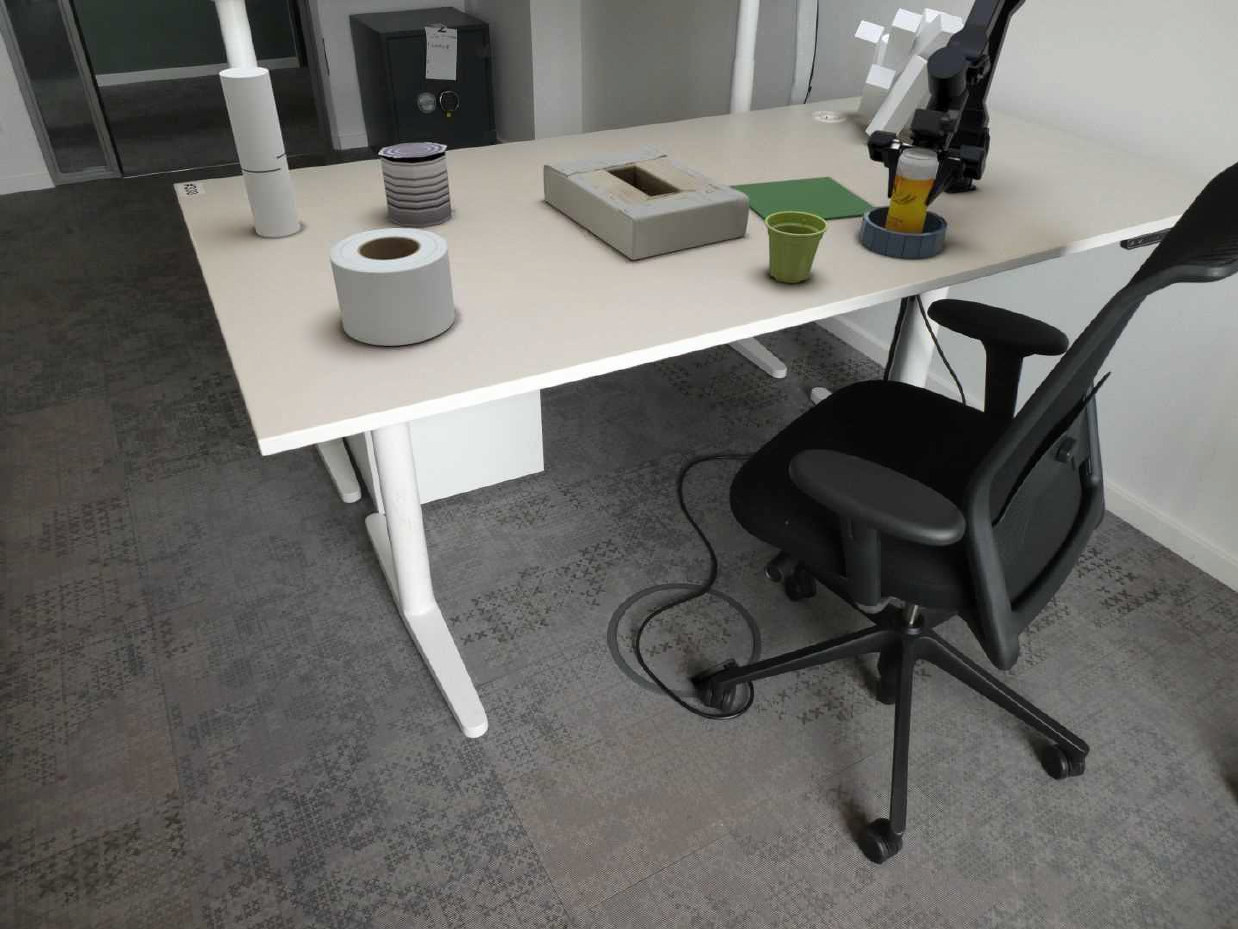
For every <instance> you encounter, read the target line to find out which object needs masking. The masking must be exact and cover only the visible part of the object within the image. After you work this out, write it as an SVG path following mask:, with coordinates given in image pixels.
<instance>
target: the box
mask: <svg viewBox="0 0 1238 929" xmlns="http://www.w3.org/2000/svg"><path fill="white" fill-rule="evenodd" d="M542 174H543V193H544V194H543V195H544V200H545V201H546V202H547V203H549V205H551V206H552V207H554V208H556V210H559V211H560V212H561V213H563V214H564V215H566V216H567V217H568V218H570V219H572V220H573V221H574V222H576V223H578V224H579V225H581V227H583V228H584V229H586V230H588V231H590V232H591V233H592V234H594V235H595V236H597V237H598V239H599V238H600V239H601V240H602V241H603V242H605V243H606V244H608V245H609V246H611V247H613V249H615V250H617V251H618V252H620V253H621V254H623V255H624V256H625V257H627V258H629V259H630V260H632V261H634V260H640V259H644V258H649V257H653V256H658V255H662V254H667V253H672V252H676V251H677V252H678V251H680V250H685V249H690V248H694V247H698V246H703V245H708V244H713V243H717V242H722V241H727V240H732V239H735V238H740V237H743V236H745V235H746V233H747V229H748V222H749V215H750V207H749V205H750V199H749V197H748V196H747V195H746V194H744V193H742V192H740V191H738V190H735V189H733V188H731V187H729V186H730V185H728V184H726V183H720V182H718V181H717V180H715V179H712V178H710V177H709V176H707V175H705V174H702V173H701V172H698V171H697V170H695V169H693V168H691V167H689V166H687V165H685V164H683V163H681V162H679V161H677V160H676V159H674V158H671V157H669V156H668V155H667V154H666V153H664V152H661V151H660V150H659V149H658V148H656V147H653V146H651V145H650V146H649V145H648V146H644V147H639V148H634V149H629V150H623V151H622V150H621V151H617V152H612V153H607V154H606V153H605V154H599V155H594V156H587V157H581V158H576V159H570V160H563V161H551V162H546V163H545V164H543V171H542Z"/></svg>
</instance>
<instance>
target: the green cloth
mask: <svg viewBox="0 0 1238 929" xmlns="http://www.w3.org/2000/svg"><path fill="white" fill-rule="evenodd" d="M728 186H729V187H731V188H733V189H735V190H738V191H740V192H742V193H744V194H746V195H747V196H748V197H749V199H750V205H749V209H751V210H752V211H753V212H754V213H756V214H757V215H758V216H759V217H760V218H762V219H763V220H764V221H765V219H766V218H767V217H768V216H770V215H771V214H774V213H778V212H788V211H793V212H804V213H809V214H813V215H816V216H819V217H821V218H822V219H824V220H825V221H828V220H837V219H838V220H839V219H847V218H848V219H849V218H856V217H863V215H864V214H865V212H866V211H867V210H869V209H872V208H874V207H875V206H873V205H871V204H869V203H868V202H867V201H865V200H864V199H862V198H861V197H859V196H858V195H856V194H855V193H853V192H852V191H851V190H849V189H847V188H846V187H844V186H843V185H842V184H840V183H838V182H837V181H835V179H832V178H831V177H829V176H824V177H813V178H802V179H791V180H781V181H780V180H779V181H778V180H777V181H771V182H770V181H769V182H757V183H747V184H737V185H736V184H735V185H728Z"/></svg>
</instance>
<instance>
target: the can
mask: <svg viewBox="0 0 1238 929" xmlns="http://www.w3.org/2000/svg"><path fill="white" fill-rule="evenodd" d="M447 147H448V145H447V144H441V143H437V142H432V141H431V142H430V141H427V142H426V141H425V142H405V143H404V142H403V143H399V144H395V145H391V146H386V147H381V149H380V150H379V152H378V154H377V155H379V156H380V163H381V171H382V177H383V184H384V192H385V198H386V206H387V213H388V220H389V221H390V222H392V223H394V224H396V225H397V226H400V227H409V228H410V227H411V228H425V227H432V226H439V225H441V224H443V223H445V222H447V221H449V220H450V219H452V204H451V203H452V202H451V194H450V184H449V182H450V181H449V174H448V163H447V153H446V149H447Z"/></svg>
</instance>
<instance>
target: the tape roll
mask: <svg viewBox="0 0 1238 929" xmlns="http://www.w3.org/2000/svg"><path fill="white" fill-rule="evenodd" d="M448 245H449V244H448V242H447V241H446V239H445V238H443V237H442V236H440V235H439V234H436V233H435V232H432V231H428V230H423V229H420V228H419V229H418V228H410V227H409V228H406V227H393V228H392V227H391V228H390V227H389V228H380V229H373V230H371V229H370V230H366V231H363V232H359V233H356V234H353V235H350V236H348V237H346V238H344V239H342V240H339V242H336V243H335V244H334V245H333V246H332V248H331V249H330V251H329V261H330V265H331V270H332V275H333V276H332V277H333V281H334V286H335V290H336V296H337V301H338V306H339V311H340V312H339V313H340V316H341V317H340V318H341V322H342V327H343V330H344V332H345V333H346V334H347V335H348V336H349V337H351V338H352V339H353V340H356V341H358V342H360V343H364V344H369V345H374V346H387V347H388V346H392V347H393V346H395V347H396V346H404V345H411V344H412V345H413V344H416V343H421V342H424V341H428V340H429V339H432V338H435V337H437V336H439V335H441V334H443V333H444V332H446V331H447V330H448V329H449V328H450V327H451V326H452V325H453V324H454V322H455V320H456V310H455V302H454V294H453V293H454V292H453V282H452V275H451V264H450V254H449V247H448ZM344 326H345V327H344ZM349 331H350V332H349Z"/></svg>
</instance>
